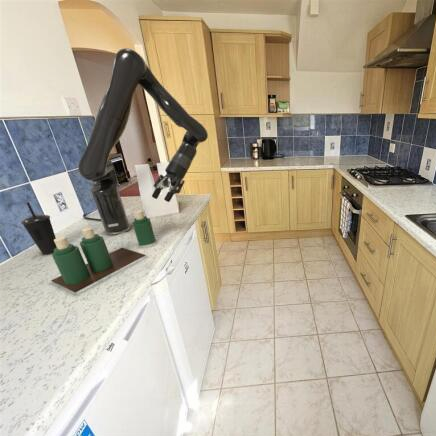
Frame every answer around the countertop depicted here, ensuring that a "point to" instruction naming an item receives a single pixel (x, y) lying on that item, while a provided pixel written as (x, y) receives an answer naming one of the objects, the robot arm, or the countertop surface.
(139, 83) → the robot arm
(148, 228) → the green bottle
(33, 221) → the drinking cup
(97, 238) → the middle bottle
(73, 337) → the countertop surface
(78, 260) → the near bottle
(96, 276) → the serving board
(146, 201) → the white tall block
